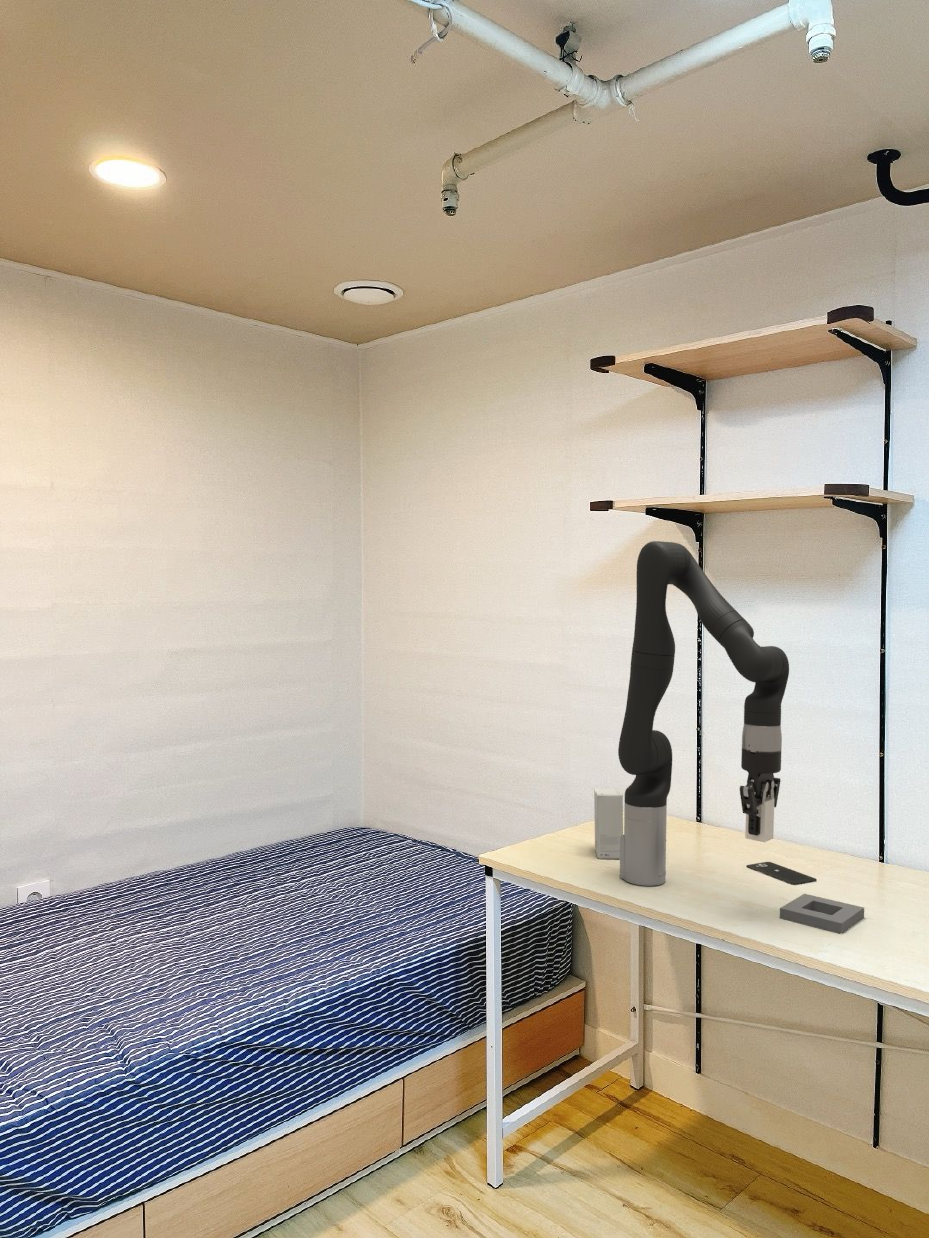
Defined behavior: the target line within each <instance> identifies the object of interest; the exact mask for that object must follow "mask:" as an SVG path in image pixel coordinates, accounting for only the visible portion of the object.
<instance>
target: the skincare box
mask: <svg viewBox="0 0 929 1238" xmlns="http://www.w3.org/2000/svg"><path fill="white" fill-rule="evenodd" d="M593 792H594V795H593V798H594V802H593V803H594V805H593V806H594V807H593V808H594V851H595V854H596V858H597V859H600V860H601V859H602V860H620V837H621V835H624V795H623V793H622V792H621V790H620V788H594V791H593Z"/></svg>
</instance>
